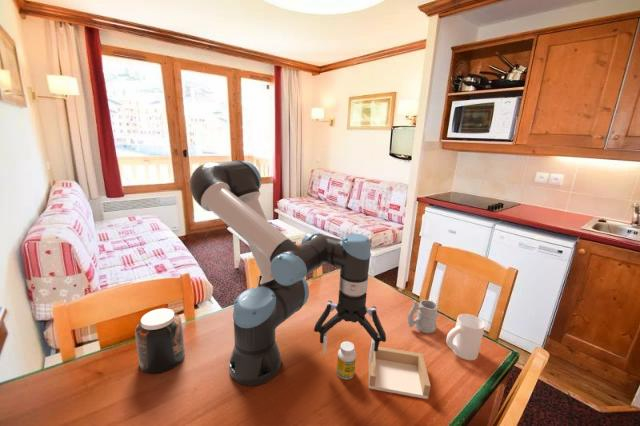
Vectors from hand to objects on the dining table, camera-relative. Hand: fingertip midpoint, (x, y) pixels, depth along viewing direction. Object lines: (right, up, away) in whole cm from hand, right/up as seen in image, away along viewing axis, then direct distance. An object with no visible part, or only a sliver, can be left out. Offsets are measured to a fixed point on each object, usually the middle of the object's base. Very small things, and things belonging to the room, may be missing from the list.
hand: (347, 355), depth 83 cm
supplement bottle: (-1, -6, +2) cm, 7 cm away
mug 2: (+39, -5, +13) cm, 41 cm away
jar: (-56, -3, +3) cm, 56 cm away
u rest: (+15, -7, +2) cm, 16 cm away
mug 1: (+30, -2, +24) cm, 38 cm away
